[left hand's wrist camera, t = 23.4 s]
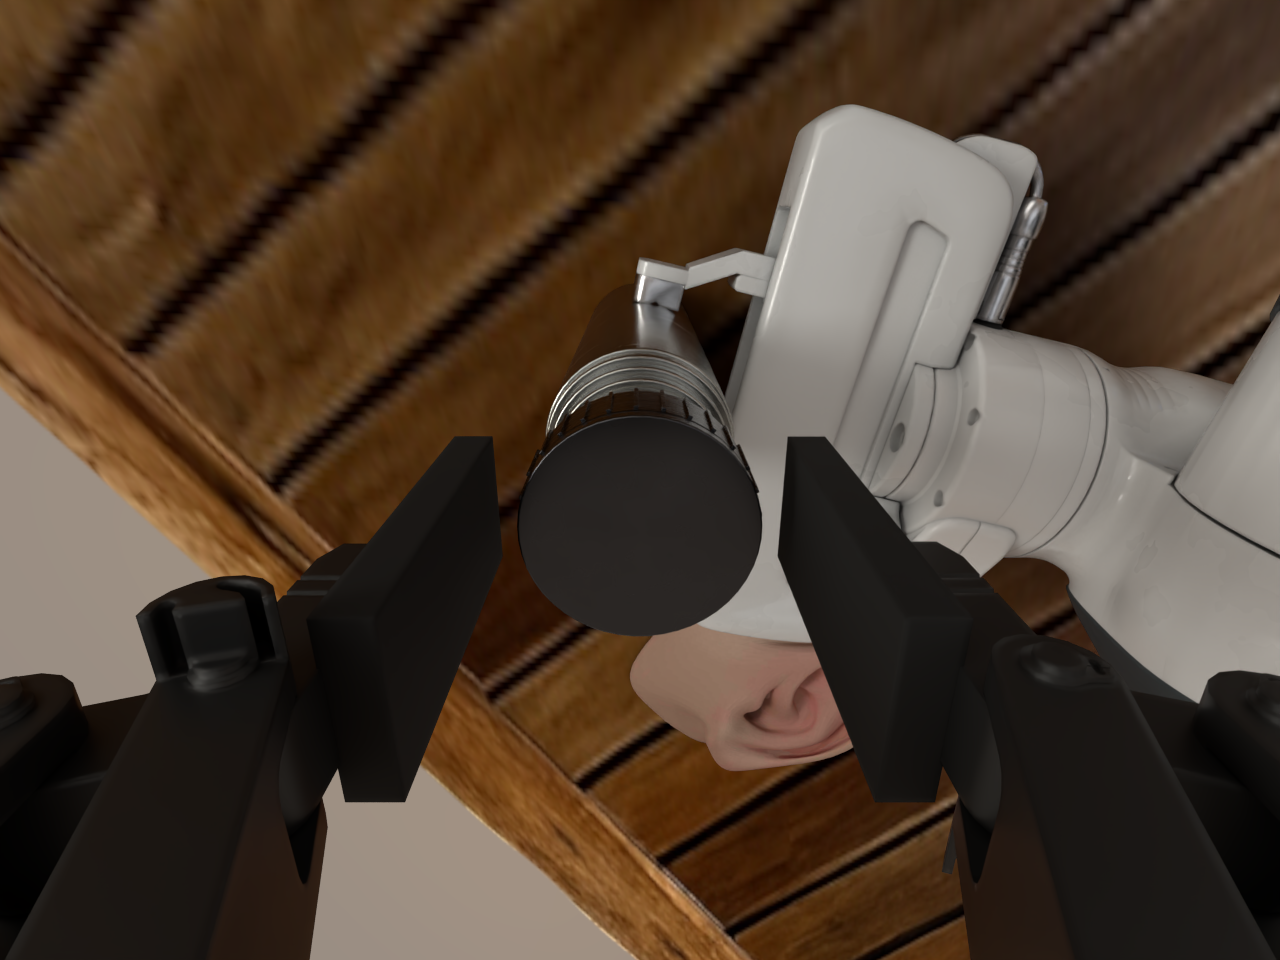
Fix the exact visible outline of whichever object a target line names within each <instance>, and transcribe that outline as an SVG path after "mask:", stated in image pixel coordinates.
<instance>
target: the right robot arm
mask: <svg viewBox="0 0 1280 960" xmlns="http://www.w3.org/2000/svg"><path fill="white" fill-rule="evenodd" d="M1029 184H1030V195H1029V197H1028V196H1025V194H1026V192H1027V189H1028V187H1029ZM1043 187H1044V179H1043V172H1042V168H1041V166H1040V163H1039V161H1038V159H1037V156H1036V155H1035V154H1034V153H1033V152H1032V151H1031V150H1029V149H1028V148H1027V147H1025V146H1023V145H1021V144H1019V143H1016V142H1012V141H1008V140H1005V139H1001V138H997V137H993V136H989V135H985V134H978V133H974V134H966V135H963V136H959V137H957V138H955V139H953V140H949V139H947V138H945V137H943V136H941V135H938V134H936V133H934V132H932V131H930V130H927V129H925V128H923V127H920V126H918V125H916V124H913V123H911V122H908V121H905V120H903V119H900V118H898V117H895V116H892V115H889V114H886V113H883V112H880V111H877V110H874V109H870V108H867V107H863V106H859V105H842V106H838V107H835V108H833V109H831V110H829V111H826V112H825V113H823V114H821V115H820V116H818V117H817V118H815V119H814V120H812V121H811V122H810V123H808V124H807V125H806V126H804V127H803V128H802V129H801V130H800V131H799V133H798V135H797V138H796V141H795V144H794V147H793V151H792V155H791V158H790V162H789V165H788V169H787V173H786V176H785V180H784V183H783V187H782V191H781V194H780V198H779V202H778V205H777V209H776V212H775V216H774V220H773V223H772V227H771V230H770V234H769V238H768V241H767V245H766V248H765V252H764V254H760V253H756V252H752V251H747V250H743V249H739V248H733V249H730V250H727V251H724V252H721V253H718V254H715V255H712V256H709V257H706V258H703V259H700V260H697V261H693V262H690V263H687V264H686V267H683V266H679V265H674V264H670V263H666V262H662V261H657V260H653V259H648V258H642V257H640V258H639V263H638V268H637V272H636V277H635V281H634V286H633V291H632V296H631V299H632V300H634V301H637V302H640V303H646V304H651V303H654V302H657V304H658V305H659V306H661V307H663V308H666V309H670V310H675V311H678V310H679V306H680V302H681V299H682V295H683V291H684V289H689V288H692V287H695V286H698V285H702V284H705V283H708V282H711V281H714V280H718V279H721V278H724V277H727V276H729V278H728V283H729V285H730V286H731V287H732V288H734V289H735V290H736V291H738V292H742V293H746V294H750V295H752V299H751V302H750V306H749V310H748V313H747V317H746V320H745V324H744V328H743V331H742V335H741V338H740V342H739V346H738V349H737V353H736V357H735V360H734V364H733V367H732V371H731V375H730V378H729V382H728V385H727V389H726V393H725V396H724V397H725V400H726V402H727V404H728V406H729V409H730V412H731V416H732V419H733V426H734V441H735V443H736V445H738V444H740V446H741V448H742V450H743V452H744V455H745V457H746V459H747V462H748V464H749V467H750V470H751V472H752V475H753V477H754V480H755V482H756V484H757V487H758V489H759V493H757V494H758V498H759V502H760V506H761V511H762V524H763V525H762V540H761V544H760V549H759V553H758V556H757V559H756V562H755V564H754V567H753V569H752V571H751V573H750V575H749V576H748V578H747V580H746V581H745V583H744V584H743V586H742V587H741V588H740V590H739V591H738V592H737V593H736V595H735V596H734V597H733V598H732V599H731V600H730V601H729V602H728V603H727V604H726V605H724V606H723V607H722V608H721V609H720V610H718V611H717V612H716V613H714V614H713V615H711V616H709V617H708V618H706V619H705V620H703V621H701V622H699V623H697V624H698V625H700V626H702V627H704V628H707V629H710V630H715V631H719V632H724V633H729V634H735V635H741V636H747V637H754V638H761V639H769V640H777V641H788V642H802V643H812V642H811V640H810V637H809V634H808V632H807V629H806V627H805V624H804V622H803V619H802V617H801V614H800V612H799V609H798V607H797V604H796V602H795V599H794V597H793V594H792V592H791V589H790V587H789V584H788V582H787V579H786V577H785V574H784V571H783V569H782V566H781V564H780V561H779V559H778V556H777V555H778V543H779V532H780V520H781V508H782V496H783V485H784V473H785V461H786V449H787V438H788V436H825V437H826V438H827V439H828V441H829V442H830V443H831V444H832V446H833V447H834V448H835V449H836V450H837V452H838V453H839V454H840V455H841V457H842V458H843V459H844V460H845V461H846V463H847V464H848V465H849V466H850V468H851V469H852V470H853V471H854V472H855V474H856V475H857V476H858V477H859V479H860V480H861V481H862V482H863V483H864V485H865V486H866V487H867V488H868V490H869V491H870V492H871V493H872V495H873V496H874V497H875V498H876V499H877V501H878V502H879V503H880V504H881V506H882V507H883V508H884V509H885V510H886V512H887V513H888V514H889V515H890V517H891V518H892V519H893V520H894V521H895V523H896V524H897V525H898V526H899V528H900V529H901V530H902V531H903V532H904V534H905V535H906V536H907V537H908V539H909V540H910V541H937V542H938V543H940V544H942V545H944V546H945V547H947V548H949V549H951V550H953V551H954V552H956V553H958V554H960V555H961V556H963V557H964V558H965V559H966V560H967V561H968V562H969V563H970V564H971V565H972V566H973V568H974V569H975V570H976V571H977V572H978V573H979V574H980V577H982V576H983V575H984V574H985V573H986V572H987V571H988V570H990V569H991V568H992V567H993V566H994V565H995V564H997V563H998V562H999V561H1000V560H1001V559H1002V558H1003V557H1005V558H1023V557H1028V558H1037V559H1041V560H1045V561H1048V562H1050V563H1052V564H1054V565H1056V566H1057V567H1059V568H1060V569H1062V570H1063V571H1064V572H1065V573H1066V574H1067V575H1068V577H1069V581H1070V583H1069V584H1067V586H1066V589H1067V592H1068V595H1069V598H1070V601H1071V603H1072V605H1073V607H1074V609H1075V611H1076V614H1077V616H1078V618H1079V619H1080V621H1081V623H1082V625H1083V627H1084V628H1085V630H1086V632H1087V634H1088V635H1089V637H1090V639H1091V641H1092V643H1093V644H1094V646H1095V648H1096V650H1097V652H1098V653H1099V655H1100V657H1101V658H1102V659H1103V660H1105V661H1106V662H1108V663H1109V664H1111V665H1112V666H1113V667H1114V669H1115V670H1116V671H1117V672H1118V673H1119V674H1120V676H1121V677H1122V678H1123V679H1124V681H1125V683H1126V684H1127V686H1128V688H1129V690H1133V691H1137V692H1142V693H1147V694H1152V695H1157V696H1163V697H1168V698H1173V699H1178V700H1183V701H1188V702H1194V703H1199V702H1200V700H1201V697H1202V694H1203V692H1204V689H1205V687H1206V684H1207V681H1208V679H1210V678H1211V677H1213V676H1214V675H1216V674H1217V673H1218V672H1225V671H1235V670H1242V671H1250V672H1257V673H1268V674H1273V675H1277V676H1280V295H1279V297H1278V299H1277V301H1276V303H1275V305H1274V307H1273V309H1272V311H1271V313H1270V320H1271V324H1270V326H1269V327H1268V329H1267V331H1266V332H1265V334H1264V336H1263V337H1262V339H1261V340H1260V342H1259V344H1258V345H1257V347H1256V349H1255V350H1254V352H1253V353H1252V355H1251V357H1250V358H1249V360H1248V362H1247V363H1246V365H1245V366H1244V368H1243V370H1242V371H1241V373H1240V375H1239V376H1238V378H1237V380H1236V381H1235V383H1234V384H1229V383H1226V382H1222V381H1218V380H1215V379H1211V378H1207V377H1204V376H1200V375H1197V374H1193V373H1188V372H1184V371H1180V370H1176V369H1171V368H1165V367H1150V366H1145V367H1132V368H1124V367H1117V366H1114V365H1111V364H1109V363H1107V362H1106V361H1104V360H1103V359H1102V358H1100V357H1098V356H1097V355H1095V354H1093V353H1091V352H1090V351H1088V350H1085V349H1082V348H1080V347H1077V346H1074V345H1071V344H1066V343H1062V342H1057V341H1054V340H1049V339H1045V338H1041V337H1037V336H1032V335H1028V334H1024V333H1020V332H1016V331H1011V330H1007V329H1003V327H1001V326H1002V323H1003V321H1004V318H1005V316H1006V314H1007V311H1008V309H1009V306H1010V304H1011V301H1012V299H1013V297H1014V294H1015V292H1016V289H1017V287H1018V284H1019V281H1020V275H1021V274H1022V271H1023V270H1022V268H1023V267H1024V264H1025V262H1024V260H1026V258H1027V255H1028V254H1027V253H1028V252H1029V250H1030V248H1031V246H1032V243H1033V241H1034V240H1036V239H1037V237H1038V236H1039V234H1040V232H1041V229H1042V227H1043V225H1044V222H1045V219H1046V215H1047V211H1048V204H1049V203H1048V201H1046V200H1044V199H1041V198H1042V194H1043Z"/></svg>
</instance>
